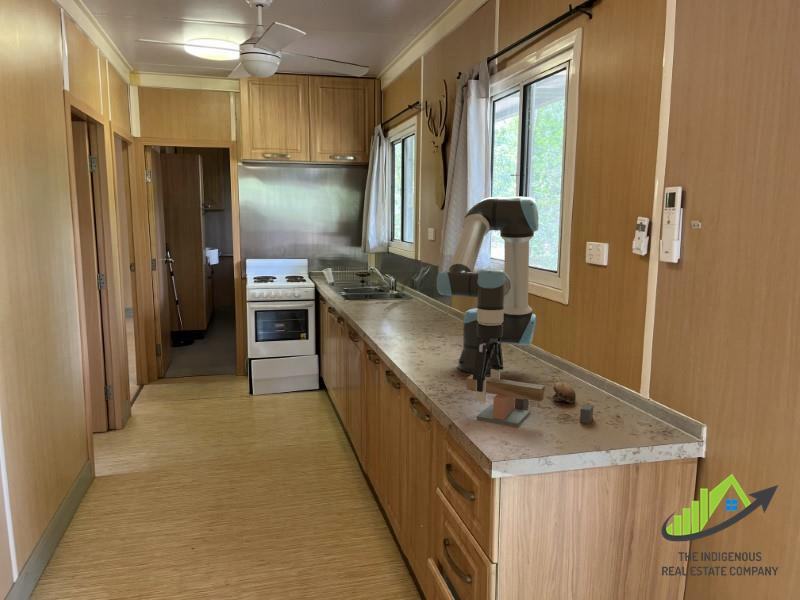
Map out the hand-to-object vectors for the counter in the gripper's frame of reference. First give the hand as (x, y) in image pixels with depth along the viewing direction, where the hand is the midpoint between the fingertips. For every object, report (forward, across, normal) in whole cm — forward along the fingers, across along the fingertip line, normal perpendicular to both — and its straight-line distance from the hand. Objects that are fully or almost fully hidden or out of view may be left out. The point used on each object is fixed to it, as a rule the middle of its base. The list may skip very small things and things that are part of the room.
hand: (487, 396), depth 166 cm
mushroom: (+6, -23, +17) cm, 29 cm away
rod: (-2, 0, +5) cm, 5 cm away
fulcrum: (+5, 0, +5) cm, 7 cm away
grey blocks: (+5, -9, +17) cm, 20 cm away
